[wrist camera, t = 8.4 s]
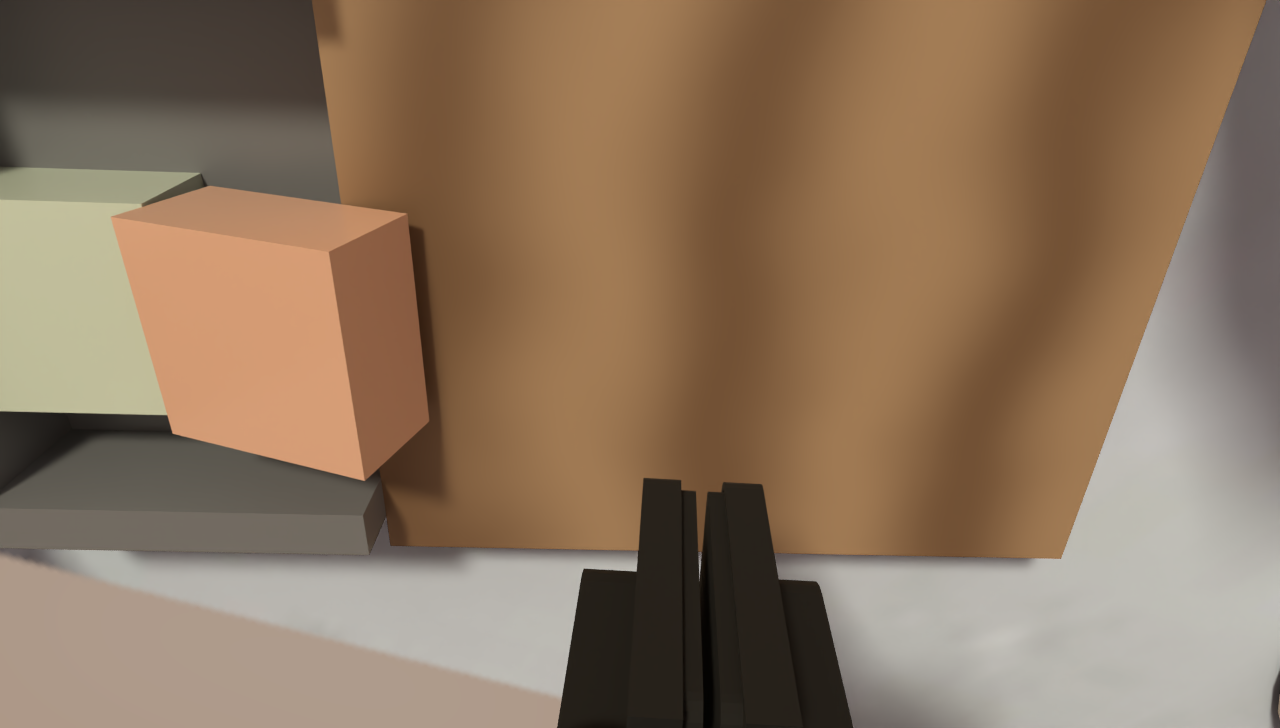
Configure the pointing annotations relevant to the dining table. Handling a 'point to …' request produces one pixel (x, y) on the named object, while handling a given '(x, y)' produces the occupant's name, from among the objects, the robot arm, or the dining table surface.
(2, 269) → the tile
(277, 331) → the tile
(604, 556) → the dining table surface
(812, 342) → the walnut plate
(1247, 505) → the dining table surface
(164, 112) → the box
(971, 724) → the dining table surface
